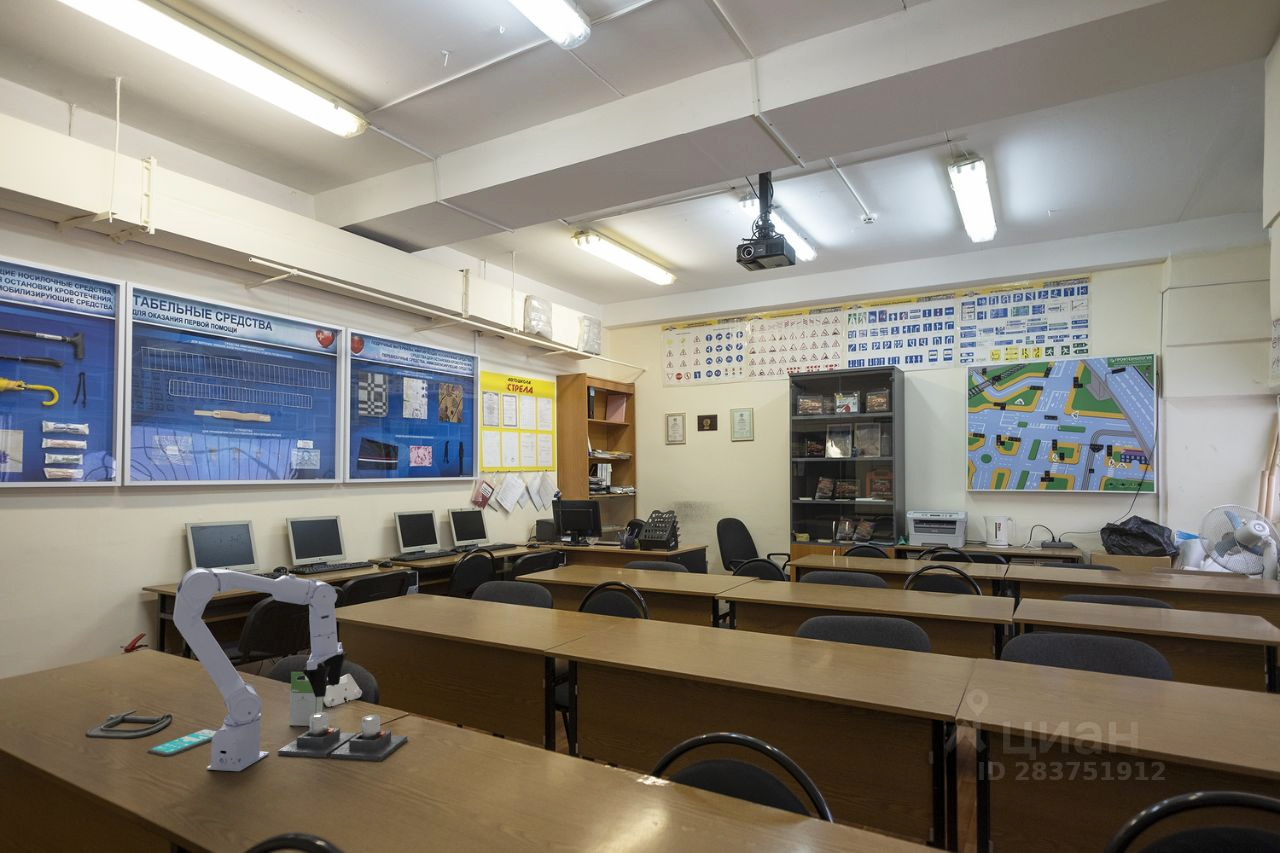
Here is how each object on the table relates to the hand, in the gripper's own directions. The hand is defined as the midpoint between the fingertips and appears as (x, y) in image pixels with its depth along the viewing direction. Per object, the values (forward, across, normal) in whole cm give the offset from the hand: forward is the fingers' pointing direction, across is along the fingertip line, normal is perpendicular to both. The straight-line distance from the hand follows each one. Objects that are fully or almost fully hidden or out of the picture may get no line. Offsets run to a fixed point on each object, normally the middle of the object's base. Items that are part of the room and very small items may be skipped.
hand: (327, 690), depth 163 cm
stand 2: (+12, -5, -11) cm, 18 cm away
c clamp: (+10, +12, +55) cm, 57 cm away
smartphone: (+10, 0, +34) cm, 35 cm away
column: (+11, -5, -11) cm, 17 cm away
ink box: (+12, +12, +11) cm, 20 cm away
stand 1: (+12, -3, +2) cm, 12 cm away
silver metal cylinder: (+11, -3, +2) cm, 11 cm away
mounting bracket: (+13, +30, +12) cm, 35 cm away
